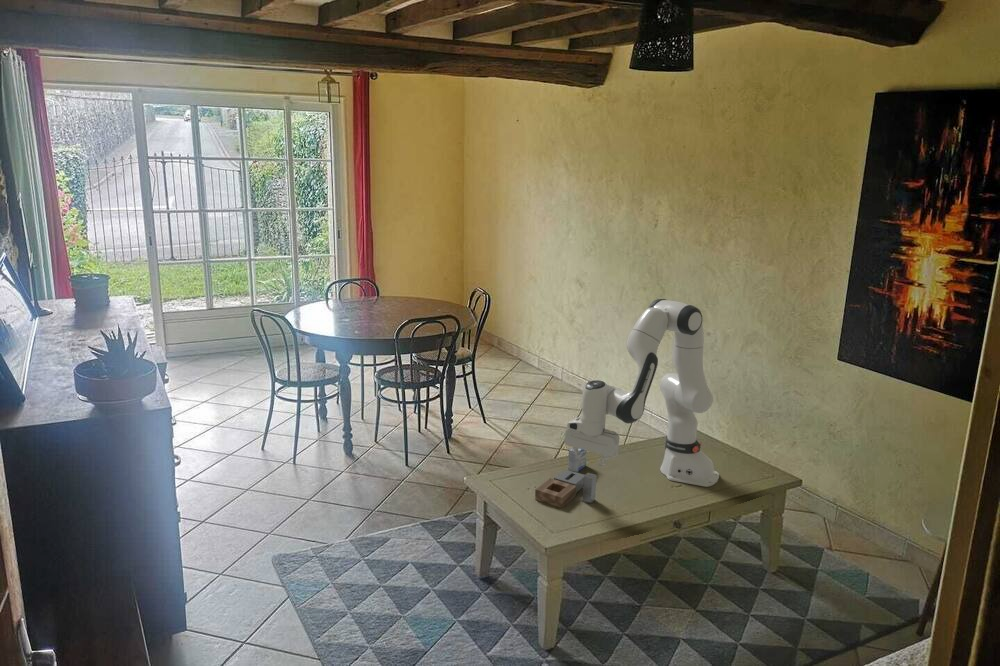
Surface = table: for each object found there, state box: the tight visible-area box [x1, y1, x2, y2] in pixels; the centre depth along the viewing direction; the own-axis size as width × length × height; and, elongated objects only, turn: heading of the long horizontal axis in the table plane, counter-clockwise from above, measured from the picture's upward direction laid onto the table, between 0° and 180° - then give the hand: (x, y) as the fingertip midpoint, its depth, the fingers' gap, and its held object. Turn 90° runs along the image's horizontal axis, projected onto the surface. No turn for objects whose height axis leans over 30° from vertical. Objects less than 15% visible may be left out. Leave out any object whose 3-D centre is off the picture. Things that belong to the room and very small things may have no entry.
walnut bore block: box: [534, 478, 577, 509], centre depth 261 cm, size 11×11×4 cm
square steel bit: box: [582, 472, 597, 504], centre depth 258 cm, size 3×3×10 cm
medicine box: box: [567, 447, 588, 473], centre depth 285 cm, size 8×4×9 cm, turn 148°
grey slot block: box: [553, 468, 585, 494], centre depth 270 cm, size 9×9×4 cm
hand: (590, 462), depth 256 cm, fingers open, 8 cm apart
